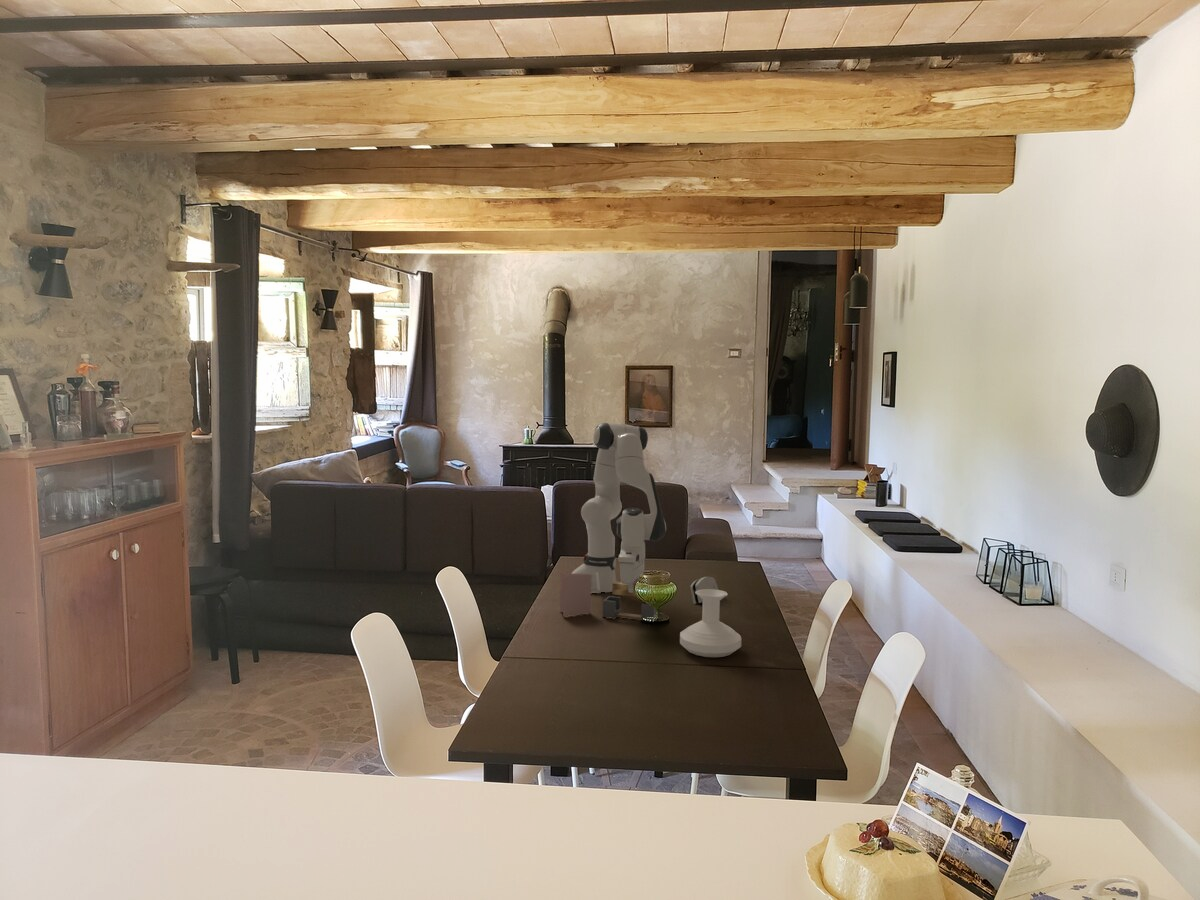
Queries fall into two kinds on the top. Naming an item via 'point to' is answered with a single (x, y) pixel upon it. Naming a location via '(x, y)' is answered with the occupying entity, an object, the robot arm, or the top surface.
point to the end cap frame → (613, 609)
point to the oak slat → (622, 589)
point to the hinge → (702, 587)
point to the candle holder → (710, 629)
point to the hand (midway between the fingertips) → (633, 590)
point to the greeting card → (575, 593)
